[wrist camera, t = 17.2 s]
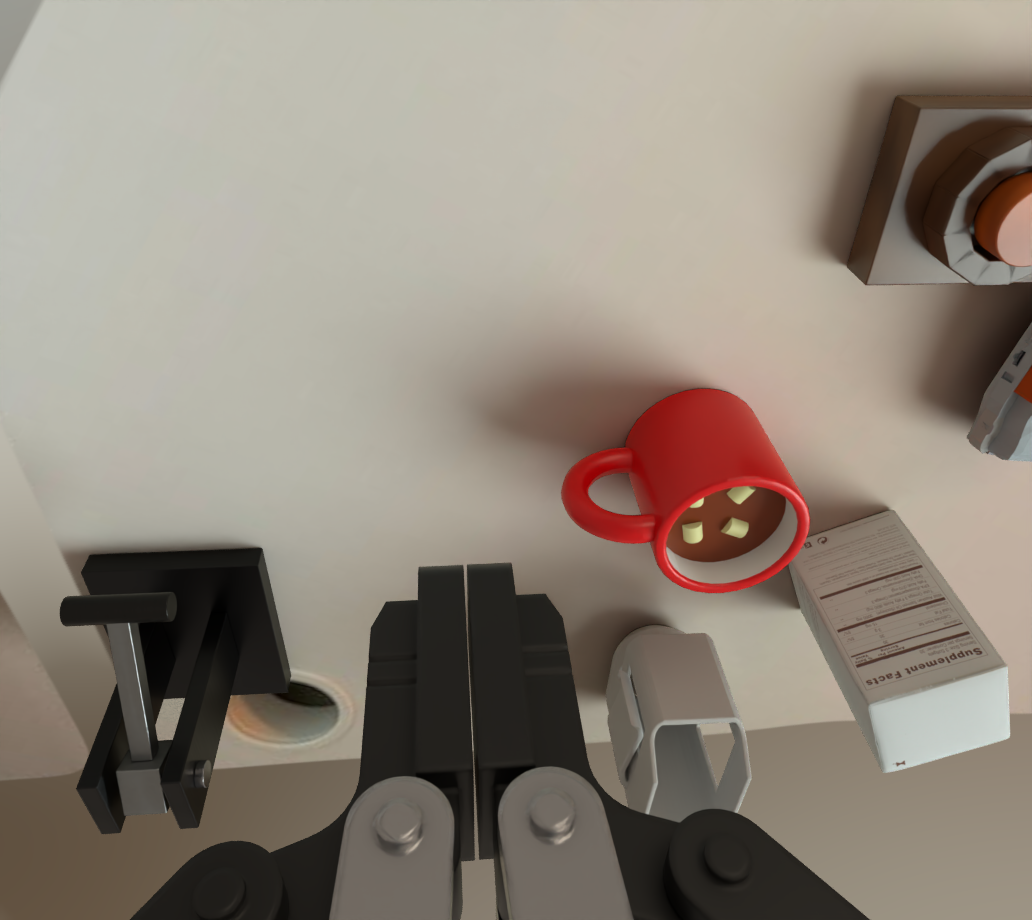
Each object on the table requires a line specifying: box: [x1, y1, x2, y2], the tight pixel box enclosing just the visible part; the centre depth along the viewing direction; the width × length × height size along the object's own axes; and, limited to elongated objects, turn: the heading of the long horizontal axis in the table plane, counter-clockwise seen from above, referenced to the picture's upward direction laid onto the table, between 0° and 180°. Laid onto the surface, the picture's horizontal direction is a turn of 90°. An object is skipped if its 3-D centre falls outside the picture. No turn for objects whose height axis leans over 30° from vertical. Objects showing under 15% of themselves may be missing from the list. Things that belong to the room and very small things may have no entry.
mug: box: [561, 389, 810, 593], centre depth 42 cm, size 8×12×8 cm, turn 92°
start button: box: [974, 172, 1032, 267], centre depth 34 cm, size 4×4×2 cm
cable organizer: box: [606, 625, 752, 822], centre depth 52 cm, size 7×12×12 cm, turn 177°
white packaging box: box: [788, 510, 1010, 773], centre depth 47 cm, size 7×7×13 cm
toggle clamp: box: [76, 548, 291, 834], centre depth 45 cm, size 12×10×13 cm
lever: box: [60, 592, 177, 816], centre depth 40 cm, size 12×5×2 cm, turn 178°
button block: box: [847, 96, 1032, 285], centre depth 36 cm, size 8×10×4 cm
